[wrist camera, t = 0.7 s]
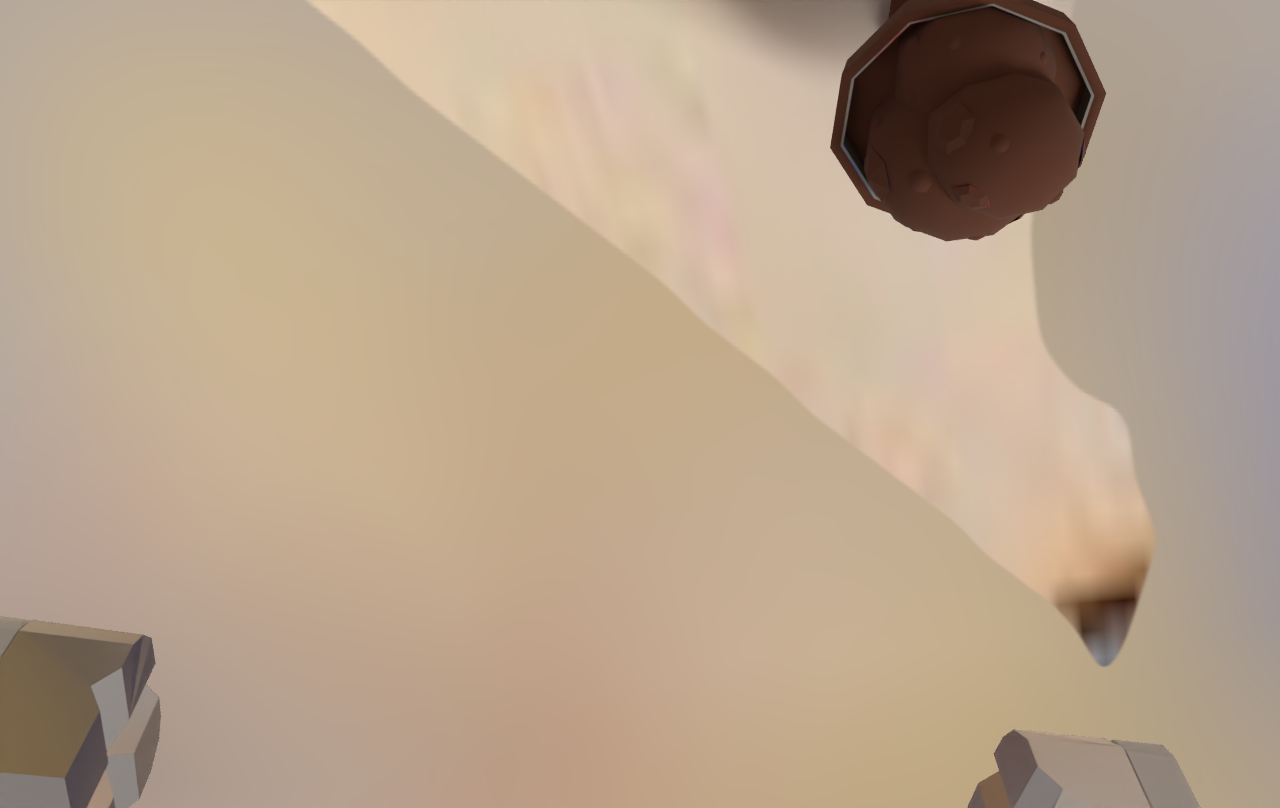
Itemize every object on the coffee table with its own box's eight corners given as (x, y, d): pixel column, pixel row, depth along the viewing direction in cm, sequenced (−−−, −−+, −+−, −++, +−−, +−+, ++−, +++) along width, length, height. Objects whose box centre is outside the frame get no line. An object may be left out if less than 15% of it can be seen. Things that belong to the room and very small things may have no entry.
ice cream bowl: (892, -136, 48) (913, 24, 38) (1116, -43, 50) (1195, 135, 40) (791, 70, 56) (785, 253, 45) (989, 145, 57) (1027, 338, 47)
